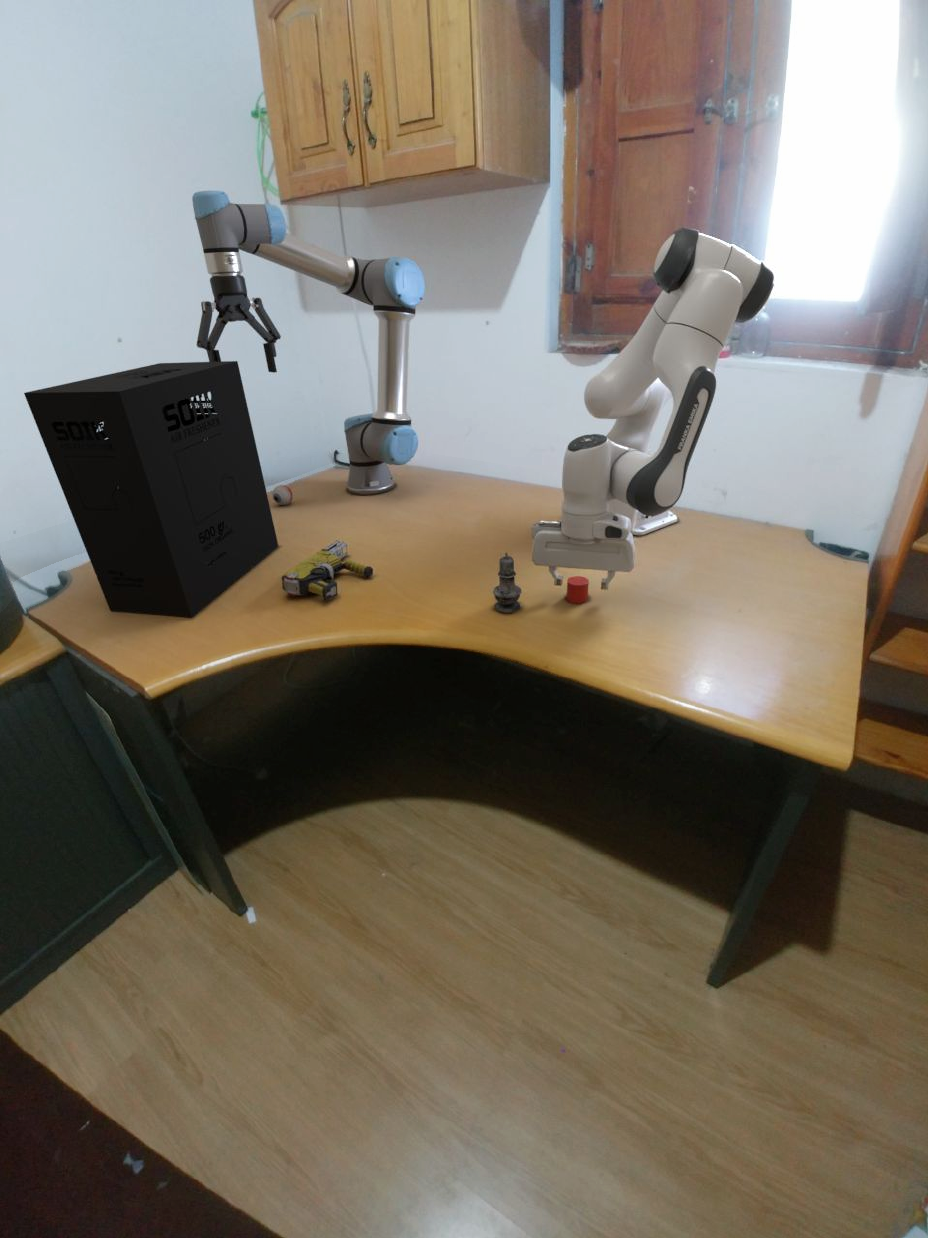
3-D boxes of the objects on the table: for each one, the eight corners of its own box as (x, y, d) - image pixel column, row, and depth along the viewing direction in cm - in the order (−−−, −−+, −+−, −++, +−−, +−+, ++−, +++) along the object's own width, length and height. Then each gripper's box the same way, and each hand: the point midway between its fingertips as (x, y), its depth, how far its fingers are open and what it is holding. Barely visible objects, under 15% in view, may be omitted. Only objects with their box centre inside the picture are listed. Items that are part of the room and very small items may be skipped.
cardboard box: (191, 617, 126) (119, 391, 104) (110, 610, 131) (23, 392, 108) (278, 546, 158) (237, 360, 135) (210, 542, 162) (159, 363, 140)
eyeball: (269, 507, 186) (265, 488, 183) (282, 500, 191) (278, 481, 188) (285, 508, 183) (282, 489, 180) (298, 502, 188) (294, 483, 185)
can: (570, 604, 123) (570, 586, 121) (564, 594, 127) (564, 577, 125) (590, 602, 124) (591, 584, 122) (584, 592, 127) (585, 575, 125)
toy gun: (389, 548, 145) (334, 537, 149) (339, 588, 125) (277, 575, 129) (389, 566, 147) (335, 555, 151) (340, 608, 127) (279, 595, 131)
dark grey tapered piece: (519, 614, 120) (519, 559, 114) (490, 612, 122) (489, 558, 116) (523, 600, 125) (523, 546, 119) (495, 598, 127) (493, 545, 121)
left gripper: (178, 276, 126) (205, 384, 136) (283, 272, 141) (300, 369, 151) (164, 278, 130) (191, 382, 141) (267, 273, 145) (284, 367, 156)
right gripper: (527, 525, 117) (528, 589, 124) (636, 531, 111) (630, 597, 118) (534, 514, 122) (534, 575, 129) (638, 519, 116) (633, 583, 123)
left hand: (247, 376), depth 146 cm, fingers open, 13 cm apart
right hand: (581, 586), depth 123 cm, fingers open, 8 cm apart
